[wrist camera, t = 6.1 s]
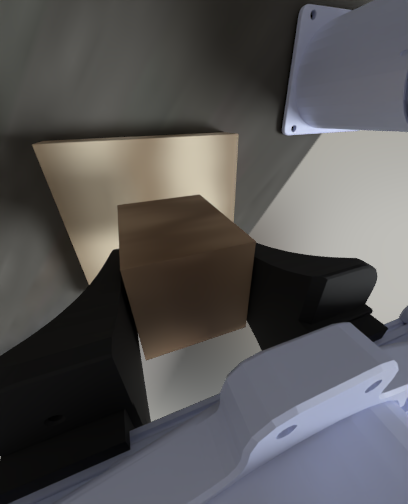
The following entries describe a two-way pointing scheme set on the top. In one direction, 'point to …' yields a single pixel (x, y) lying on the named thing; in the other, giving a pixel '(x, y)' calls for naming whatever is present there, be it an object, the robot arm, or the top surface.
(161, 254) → the walnut block
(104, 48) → the top surface
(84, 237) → the birch block
